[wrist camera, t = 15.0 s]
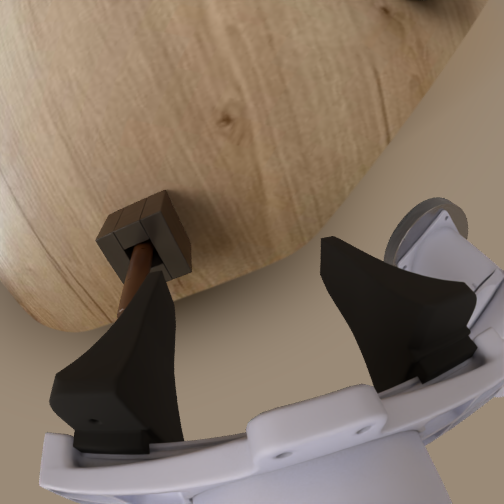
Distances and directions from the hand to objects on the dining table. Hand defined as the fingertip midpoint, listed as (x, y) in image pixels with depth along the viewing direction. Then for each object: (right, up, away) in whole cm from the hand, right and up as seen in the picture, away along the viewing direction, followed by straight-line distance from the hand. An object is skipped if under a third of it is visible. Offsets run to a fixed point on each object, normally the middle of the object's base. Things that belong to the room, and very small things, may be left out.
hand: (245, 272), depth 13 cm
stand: (-8, +3, +9) cm, 12 cm away
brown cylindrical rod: (-8, +3, +9) cm, 12 cm away
